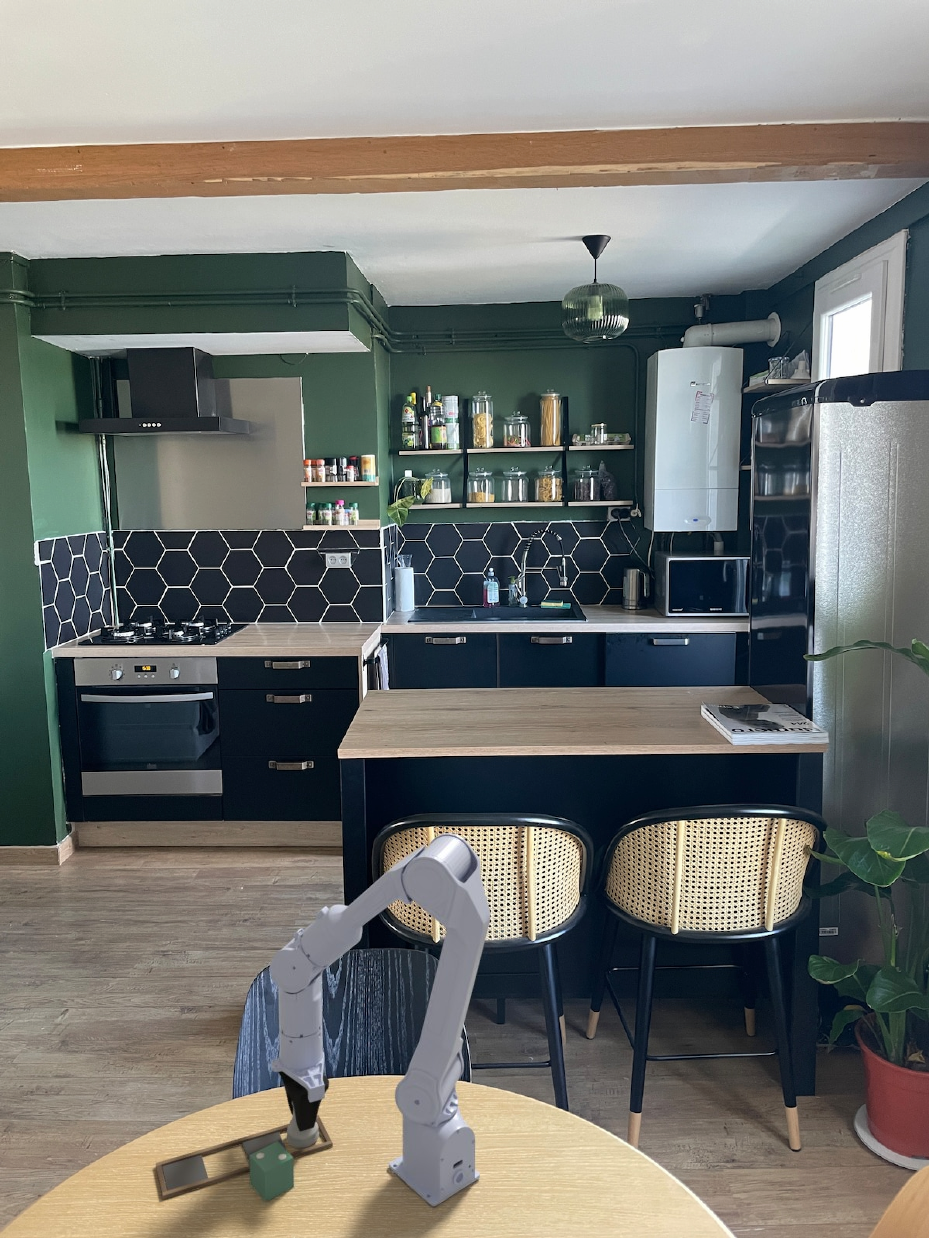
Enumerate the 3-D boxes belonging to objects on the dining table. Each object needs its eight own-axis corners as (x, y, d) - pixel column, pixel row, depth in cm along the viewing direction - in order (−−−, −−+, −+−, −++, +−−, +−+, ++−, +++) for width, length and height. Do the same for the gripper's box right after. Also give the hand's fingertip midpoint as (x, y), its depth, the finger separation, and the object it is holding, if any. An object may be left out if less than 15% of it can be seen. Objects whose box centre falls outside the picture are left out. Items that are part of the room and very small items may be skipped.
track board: (318, 1118, 129) (318, 1114, 129) (332, 1146, 124) (332, 1142, 123) (155, 1166, 120) (155, 1162, 120) (163, 1199, 114) (162, 1195, 114)
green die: (293, 1186, 116) (293, 1156, 116) (265, 1201, 114) (265, 1171, 113) (278, 1169, 119) (277, 1140, 119) (250, 1184, 116) (249, 1154, 116)
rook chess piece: (322, 1129, 127) (322, 1075, 126) (314, 1151, 123) (313, 1095, 122) (291, 1126, 127) (290, 1073, 126) (282, 1148, 123) (280, 1093, 122)
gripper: (258, 1006, 128) (260, 1097, 129) (285, 1062, 115) (287, 1162, 116) (307, 995, 131) (308, 1083, 132) (339, 1048, 118) (340, 1145, 119)
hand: (302, 1119), depth 125 cm, fingers closed on rook chess piece, 3 cm apart
